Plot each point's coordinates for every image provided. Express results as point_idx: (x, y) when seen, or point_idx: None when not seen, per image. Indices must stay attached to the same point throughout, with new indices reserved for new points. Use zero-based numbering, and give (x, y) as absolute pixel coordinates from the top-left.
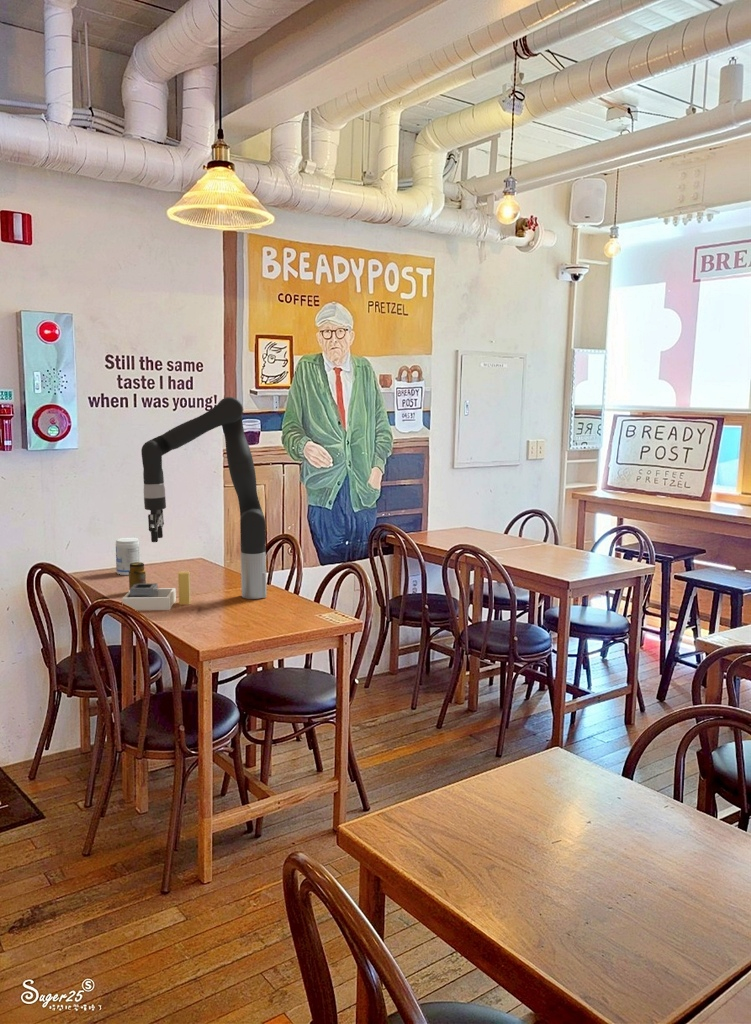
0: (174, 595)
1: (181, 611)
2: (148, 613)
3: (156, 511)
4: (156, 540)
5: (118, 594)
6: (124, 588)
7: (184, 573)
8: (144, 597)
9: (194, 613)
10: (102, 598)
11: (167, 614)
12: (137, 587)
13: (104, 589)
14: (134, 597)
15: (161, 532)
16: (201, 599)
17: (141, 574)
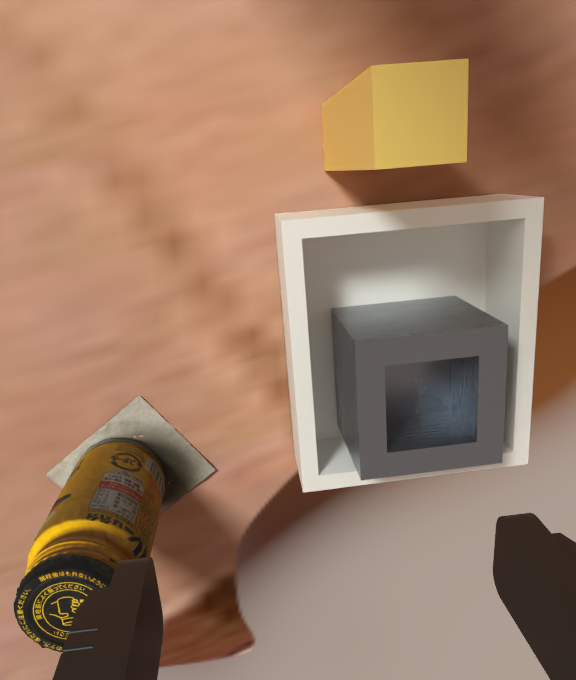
0: (333, 212)
1: (500, 121)
2: None
3: None
4: (541, 535)
5: None
6: (4, 582)
7: (463, 100)
8: (521, 352)
9: (552, 24)
10: (229, 604)
11: (555, 188)
12: (407, 443)
13: (45, 660)
14: (516, 407)
15: (135, 634)
16: (213, 52)
17: (125, 519)
